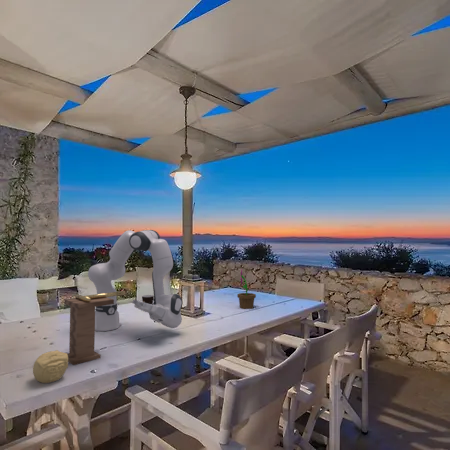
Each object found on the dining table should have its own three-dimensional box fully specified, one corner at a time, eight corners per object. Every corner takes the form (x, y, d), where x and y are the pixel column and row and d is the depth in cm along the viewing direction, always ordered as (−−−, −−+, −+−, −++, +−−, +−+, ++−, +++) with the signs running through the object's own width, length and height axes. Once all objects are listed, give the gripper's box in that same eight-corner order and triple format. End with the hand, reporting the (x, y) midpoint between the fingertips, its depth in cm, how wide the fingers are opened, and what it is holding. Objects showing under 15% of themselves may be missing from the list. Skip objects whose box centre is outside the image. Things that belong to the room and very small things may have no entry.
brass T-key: (74, 298, 158) (74, 294, 158) (117, 292, 174) (118, 289, 174) (87, 302, 148) (87, 298, 148) (132, 296, 164) (132, 292, 164)
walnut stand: (61, 356, 154) (62, 299, 155) (97, 348, 166) (98, 295, 167) (75, 366, 143) (76, 304, 144) (112, 356, 155) (113, 299, 156)
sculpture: (40, 389, 122) (40, 359, 122) (28, 379, 130) (28, 351, 130) (71, 379, 131) (72, 351, 131) (58, 370, 139) (59, 344, 139)
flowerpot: (238, 305, 270) (238, 267, 271) (256, 306, 268) (256, 268, 269) (236, 309, 256) (236, 269, 257) (255, 310, 254) (255, 270, 255)
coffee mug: (140, 308, 256) (141, 295, 256) (152, 307, 259) (152, 294, 259) (143, 312, 245) (143, 298, 245) (155, 311, 248) (155, 297, 249)
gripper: (149, 304, 191) (130, 294, 182) (171, 309, 177) (151, 299, 168) (144, 314, 188) (124, 305, 180) (165, 321, 174) (146, 311, 166)
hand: (138, 302), depth 174 cm, fingers open, 8 cm apart
